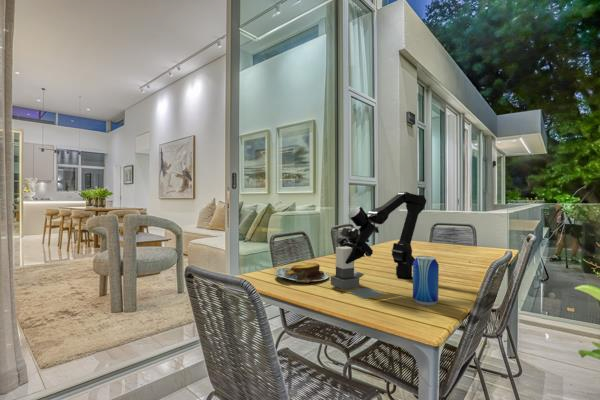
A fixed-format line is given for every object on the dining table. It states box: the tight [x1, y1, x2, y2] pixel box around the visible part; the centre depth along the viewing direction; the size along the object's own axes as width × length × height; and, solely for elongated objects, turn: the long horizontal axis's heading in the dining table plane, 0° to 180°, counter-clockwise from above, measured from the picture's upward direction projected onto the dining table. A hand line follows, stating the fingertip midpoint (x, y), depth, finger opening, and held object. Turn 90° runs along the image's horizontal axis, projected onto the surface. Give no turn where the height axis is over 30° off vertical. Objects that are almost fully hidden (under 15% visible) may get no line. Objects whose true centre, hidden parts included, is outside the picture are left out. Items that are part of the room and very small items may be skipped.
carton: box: [325, 269, 365, 290], centre depth 131 cm, size 14×8×5 cm, turn 117°
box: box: [335, 246, 355, 279], centre depth 130 cm, size 5×5×12 cm
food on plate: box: [273, 262, 330, 284], centre depth 144 cm, size 25×25×7 cm
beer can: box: [412, 255, 440, 306], centre depth 112 cm, size 8×8×16 cm
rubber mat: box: [347, 287, 385, 299], centre depth 121 cm, size 10×10×1 cm
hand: (342, 262), depth 130 cm, fingers closed on box, 5 cm apart
